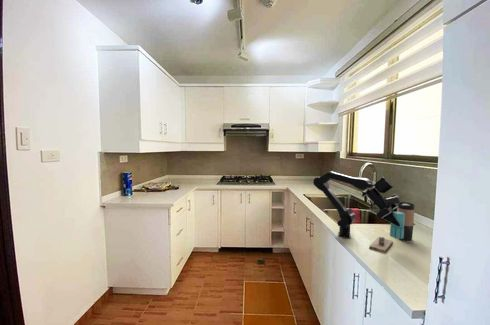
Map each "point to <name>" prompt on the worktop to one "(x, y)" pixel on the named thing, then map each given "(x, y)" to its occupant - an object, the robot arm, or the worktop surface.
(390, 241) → the brown block with knob
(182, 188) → the worktop surface
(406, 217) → the travel mug
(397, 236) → the teal cap
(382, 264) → the worktop surface
